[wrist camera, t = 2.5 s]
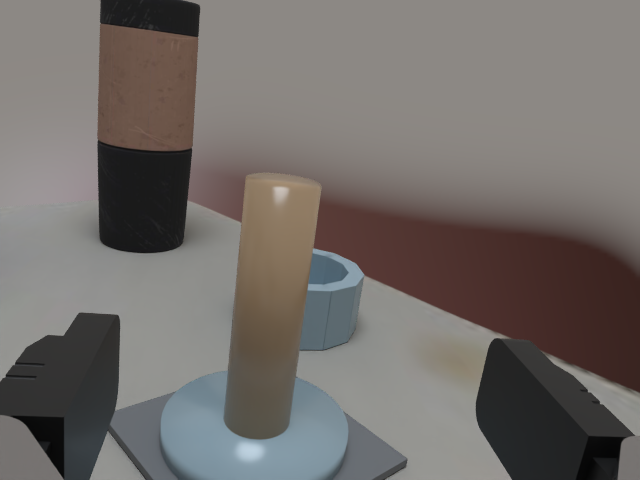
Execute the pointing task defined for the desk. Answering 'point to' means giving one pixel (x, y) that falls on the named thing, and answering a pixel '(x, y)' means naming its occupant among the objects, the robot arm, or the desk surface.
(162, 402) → the mat
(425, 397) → the desk surface
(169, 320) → the desk surface
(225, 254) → the desk surface
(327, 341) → the bowl
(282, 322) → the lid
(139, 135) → the travel mug
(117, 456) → the desk surface
